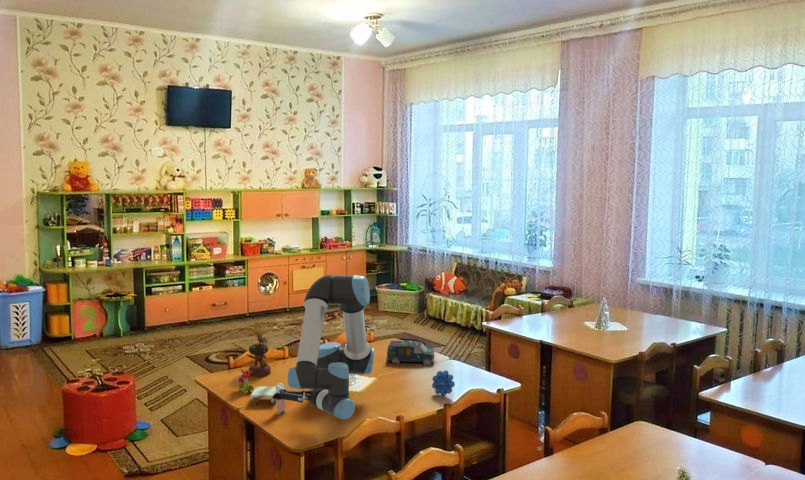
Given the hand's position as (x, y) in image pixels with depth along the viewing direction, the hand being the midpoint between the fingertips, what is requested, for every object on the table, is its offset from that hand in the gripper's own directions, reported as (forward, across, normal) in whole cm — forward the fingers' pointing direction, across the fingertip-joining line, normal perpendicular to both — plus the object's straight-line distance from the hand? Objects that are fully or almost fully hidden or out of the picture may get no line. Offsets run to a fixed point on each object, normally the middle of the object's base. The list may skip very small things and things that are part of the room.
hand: (292, 385), depth 263 cm
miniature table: (+26, +3, -14) cm, 30 cm away
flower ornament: (+42, +1, -14) cm, 45 cm away
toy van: (+27, +90, -14) cm, 95 cm away
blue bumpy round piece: (-20, +67, -14) cm, 71 cm away
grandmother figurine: (+10, 0, -15) cm, 18 cm away
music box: (+61, +19, -14) cm, 65 cm away
